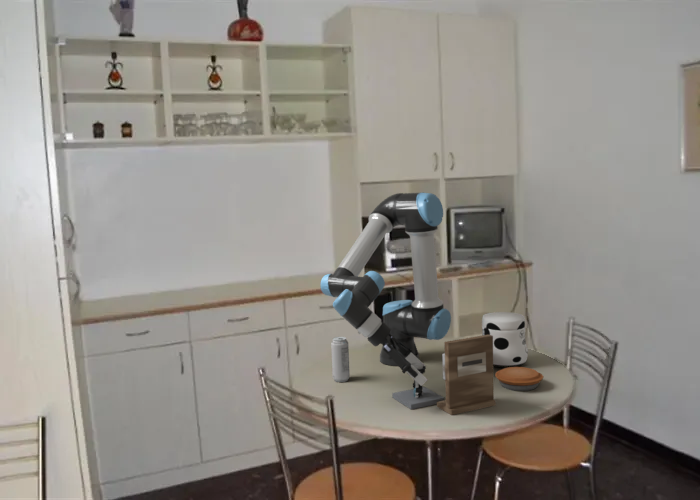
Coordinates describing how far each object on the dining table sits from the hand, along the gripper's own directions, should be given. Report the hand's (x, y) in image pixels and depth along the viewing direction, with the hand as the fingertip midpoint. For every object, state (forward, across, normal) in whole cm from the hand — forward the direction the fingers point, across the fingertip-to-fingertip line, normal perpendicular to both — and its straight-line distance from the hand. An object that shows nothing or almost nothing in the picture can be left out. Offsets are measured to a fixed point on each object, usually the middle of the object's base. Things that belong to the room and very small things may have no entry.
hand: (423, 375), depth 198 cm
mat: (+4, 0, -7) cm, 8 cm away
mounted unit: (+14, +6, +3) cm, 16 cm away
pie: (+28, -13, +17) cm, 35 cm away
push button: (+3, 0, -6) cm, 7 cm away
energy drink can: (-14, -21, -26) cm, 36 cm away
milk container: (+28, -38, +16) cm, 49 cm away
